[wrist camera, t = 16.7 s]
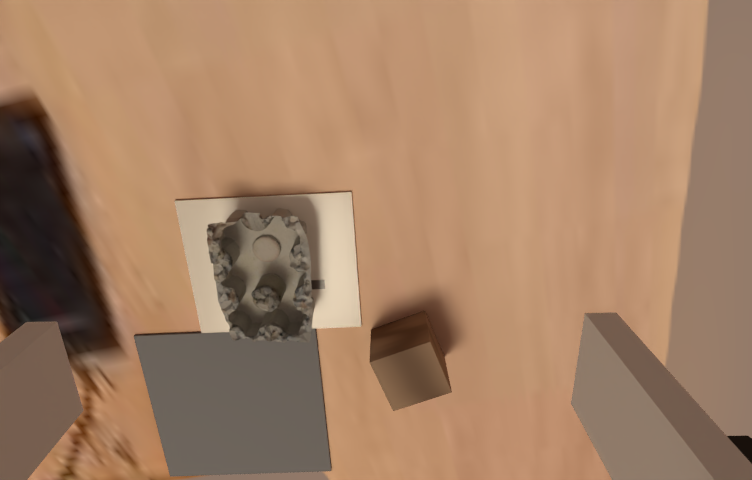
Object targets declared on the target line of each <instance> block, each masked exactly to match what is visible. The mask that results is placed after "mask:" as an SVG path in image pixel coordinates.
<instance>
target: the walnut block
mask: <svg viewBox="0 0 752 480" xmlns="http://www.w3.org/2000/svg"><path fill="white" fill-rule="evenodd" d="M370 364H371V366H372V368H373V370H374V372H375V374H376V376H377V378H378V381H379V383H380V385H381V387H382V389H383V391H384V393H385V395H386V397H387V399H388V401H389V403H390V405H391V407H392V409H393V411H395V410H398V409H401V408H405V407H408V406H411V405H414V404H417V403H420V402H423V401H426V400H429V399H432V398H435V397H439V396H442V395H445V394H448V393H451V392H452V391H451V386H450V381H449V376H448V372H447V367H446V362H445V357H444V355H443V352H442V350H441V348H440V345H439V343H438V340H437V338H436V336H435V333H434V331H433V329H432V326H431V324H430V321H429V319H428V317H427V314H426V312H425V311H423V312H420V313H417V314H414V315H411V316H408V317H406V318H403V319H400V320H397V321H394V322H391V323H389V324H386V325H383V326H380V327H377V328H374V329H372V330H371V344H370Z"/></svg>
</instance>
